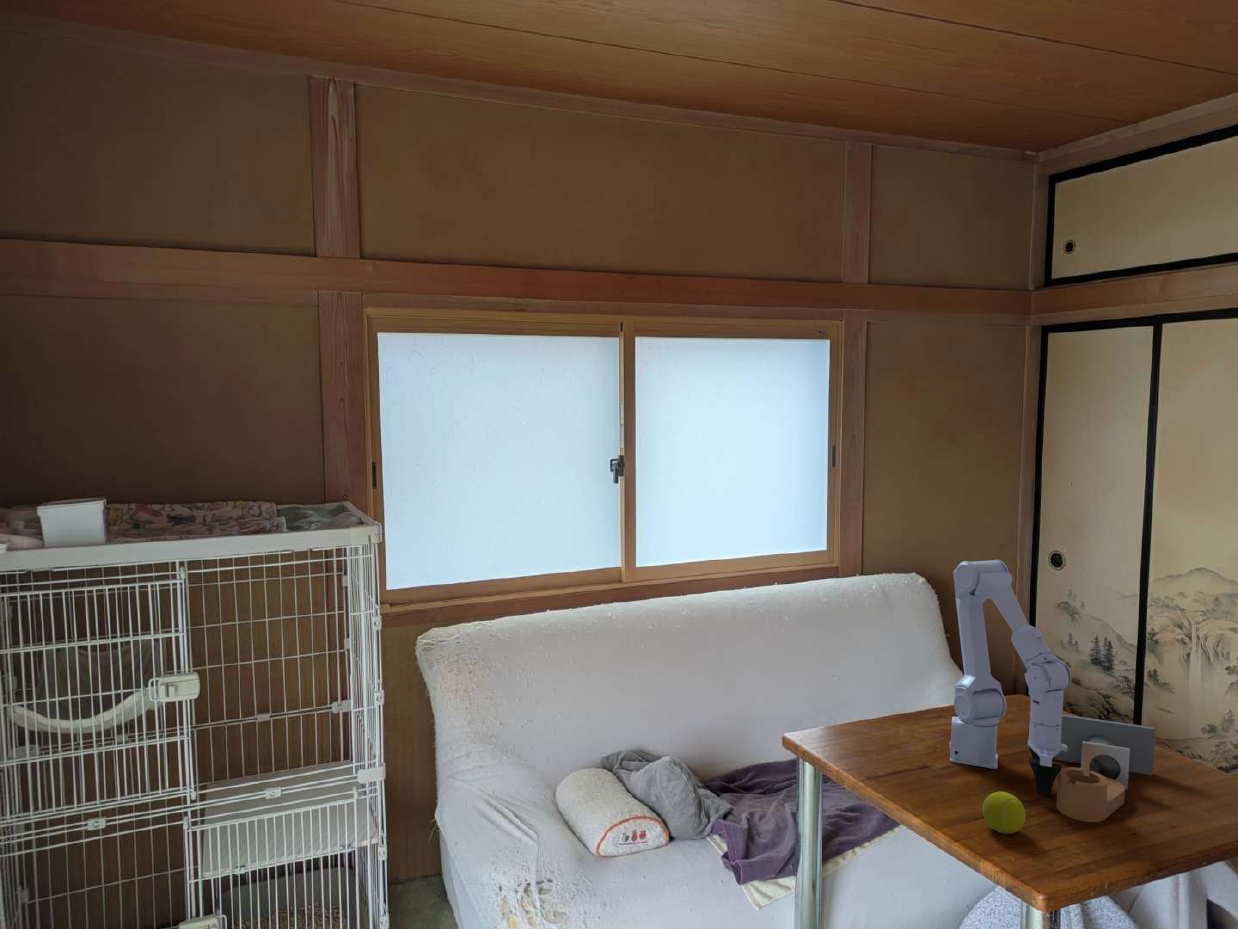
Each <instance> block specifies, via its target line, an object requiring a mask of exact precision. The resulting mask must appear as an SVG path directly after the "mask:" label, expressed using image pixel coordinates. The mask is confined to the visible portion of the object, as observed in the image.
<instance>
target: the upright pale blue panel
mask: <svg viewBox="0 0 1238 929" xmlns="http://www.w3.org/2000/svg"><path fill="white" fill-rule="evenodd" d="M1155 735H1156V728H1155V727H1153V726H1146V725H1140V724H1139V725H1138V724H1134V723H1127V722H1119V721H1113V720H1112V721H1111V720H1105V719H1098V718H1091V717H1085V716H1078V715H1077V716H1076V715H1070V714H1062V733H1061V744H1065V745H1067V747H1068V749H1067V751H1060V752H1059V753H1058V754H1057V755H1056V756H1055V758H1054V760H1055V761H1056V760H1057V761H1062V762H1063V761H1064V762H1069V763H1074V764H1075V763H1076V764H1080V768H1082V769H1084V773H1086V774H1089V772H1091V771H1094V772H1096V773H1099V774H1101V775H1102V776H1105V777H1109V778H1111V779H1114V780H1116V781H1118V782H1120V783H1121V784H1123V785H1124V787H1125V791H1128V789H1129V787H1128V786H1129V773H1135V774H1141V775H1142V774H1143V775H1148V776H1153V771H1154V755H1155V753H1154V752H1155V741H1156V740H1155V739H1156V738H1155V737H1156V736H1155Z"/></svg>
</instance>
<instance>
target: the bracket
mask: <svg viewBox="0 0 1238 929" xmlns="http://www.w3.org/2000/svg"><path fill="white" fill-rule="evenodd" d="M1056 791H1057V792H1056V793H1057V794H1056V809H1057V810H1058V812H1060V813H1061V814H1062V815H1064V816H1066V817H1068V818H1071V819H1073V820H1077V821H1080V822H1085V823H1086V822H1087V823H1101V822H1104V821H1105V820H1106V819H1107V818H1109V817H1110V816H1111V815H1112V814H1113V813H1114V812H1115V811H1117V810H1118V809H1119V808H1121V807H1122V806H1123V805H1124V804H1125V794H1126V792H1125V791H1126V790H1125V787H1124V785H1123V784H1121V783H1120V782H1118V781H1116V780H1114V779H1111V778H1109V777H1105V776H1102V775H1101V774H1099V773H1096V772H1094V771H1091V772H1089V774H1086V773H1084V769H1082V768H1081V767H1074V766H1070V767H1069V766H1067V767H1063V768H1061V771H1060V772H1059V773H1058V775H1057V790H1056Z"/></svg>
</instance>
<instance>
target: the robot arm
mask: <svg viewBox="0 0 1238 929" xmlns="http://www.w3.org/2000/svg"><path fill="white" fill-rule="evenodd" d="M952 572H953V573H952V574H953V582H954V590H955V591H954V592H955V603H956V604H955V605H956V612H957V620H958V631H959V639H960V648H961V656H962V665H963V673H964V674H963V677H962V678H961V679H960V680H959V681H958V682H956V684H955V685H954V692H955V695H954V699H953V708H954V711H955V713H956V715H957V716H952V718H951V732H950V733H951V734H950V740H949V746H948V748H949V751H950V756H949V757H950V758H949V761H950V762H952V763H957V764H964V765H969V766H975V767H981V768H986V769H993V770H998V767H999V766H998V762H999V761H998V760H999V758H998V754H997V738H998V737H997V736H998V734H997V733H998V723H1000V722H1001V718H1002V717H1003V716H1005V715H1006V712H1007V707H1008V706H1007V701H1006V698H1005V696H1004V693H1003V689H1002V688H1003V687H1002V684H1001V682H999V680H997V679H995V677H993V676H992V674H991V673H992V671H991V663H990V655H989V648H988V637H987V630H986V623H985V622H986V621H985V613H984V602H985V601H987V599H988V600H991V601H992V602H993V604H994V605H995V606H996V608H997V610H998V611H999V613H1000V614H1001V615H1002V617H1003V619H1004V620H1005V622H1006V623H1007V625H1008V626H1009V628H1010V629H1011V631H1012V633H1011V638H1010V641H1011V643H1012V646H1013V647H1014V648H1015V650H1016V652H1017V655H1018V656H1019V658H1020V660H1021V662H1023V665H1024V667H1025V668H1026V672H1024V679H1025V682H1026V685H1027V688H1028V695H1029V698H1030V706H1029V707H1030V712H1029V728H1028V729H1029V732H1028V733H1029V734H1028V739H1027V746H1028V748H1029V751H1030V754H1031V757H1028V760H1029V761H1028V764H1029V766H1030V768H1031V770H1032V772H1033V776H1034V781H1035V790H1036V795H1037V796H1038V797H1044V798H1050V796H1051V794H1052V791H1053V787H1054V783H1055V781H1056V778H1057V777H1058V773H1059V772H1060V771H1061V769H1062V764H1059V763H1055V762H1054V760H1055V759H1054V758H1055V756H1056V755H1057V754H1058V753H1059V752H1060V751H1067V749H1068V747H1067V745H1065V744H1061V733H1062V714H1063V712H1064V693H1065V692H1064V691H1065V690H1067V689H1068V688H1069V687H1070V686H1071V683H1072V673H1071V670H1070V669H1069V666H1068V665H1067V664H1066V663H1065V661H1063V660H1061V659H1059V658H1058V656H1056V655H1054V654H1053V652H1052V651H1051V649H1050V647H1049V645H1048V643H1047V642H1046V640H1045V638H1044V636H1043V634H1042V632H1041V631H1040V630H1039V628H1037V627H1035V626H1033V625H1031V624H1029V622H1028V620H1027V618H1026V616H1025V613H1024V612H1023V609H1022V608H1021V607H1022V606H1021V605H1020V602H1019V601H1018V599H1017V597H1016V595H1015V592H1014V590H1013V588H1012V582H1013V575H1012V574H1011V572H1009V568H1008V566H1007V565H1006V563H1005V562H1004V561H1003V560H1000V559H993V560H977V561H975V560H974V561H967V560H965V561H962V562H960V563H959V564H958V565H957V566H956V568H955V569H954V570H953V571H952Z"/></svg>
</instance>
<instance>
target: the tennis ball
mask: <svg viewBox="0 0 1238 929" xmlns="http://www.w3.org/2000/svg"><path fill="white" fill-rule="evenodd" d="M981 810H982V816H983V819H984V821H985V822H986V824H987V825H988V826H989V827H990V828H991V829H992V830H994V831H996V832H998V833H1001V834H1004V835H1005V834H1007V835H1009V834H1014V833H1016V832H1018V831H1020V830H1021V828H1023V826H1024V824H1025V822H1026V818H1027V817H1026V809H1025V807H1024V804H1023V803H1022V801H1020V800H1019V798H1018V797H1016V796H1015V795H1013V794H1012V793H1010V792H1009V793H1008V792H1007V791H997V792H996V791H995V792H992V793H990V794H989V795H988V796H986V797H985V799H984V801H983V804H982V808H981Z"/></svg>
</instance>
